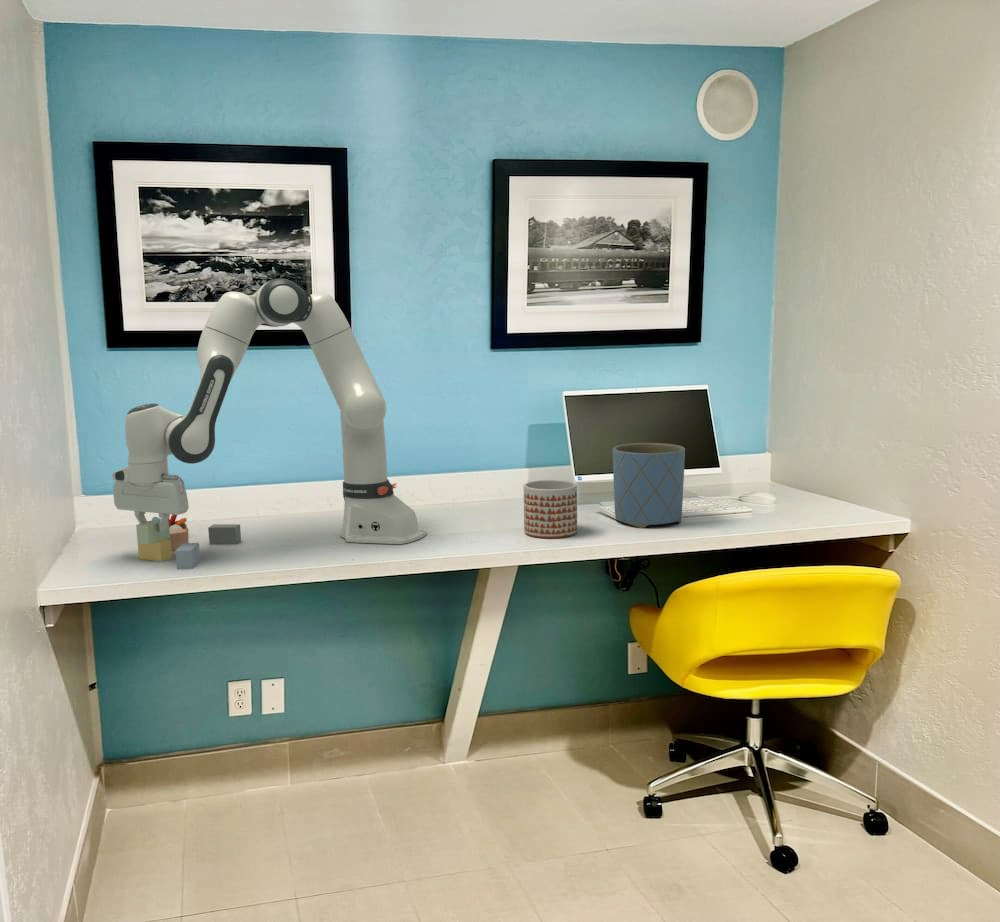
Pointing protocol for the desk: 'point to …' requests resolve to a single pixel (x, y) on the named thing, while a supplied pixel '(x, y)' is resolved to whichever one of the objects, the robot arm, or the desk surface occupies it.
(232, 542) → the charcoal brick
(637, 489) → the planter
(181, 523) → the multicolored fanned-prong toy
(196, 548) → the slate brick
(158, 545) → the ochre brick
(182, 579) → the desk surface
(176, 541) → the terracotta brick
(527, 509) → the vase
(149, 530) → the sage brick
